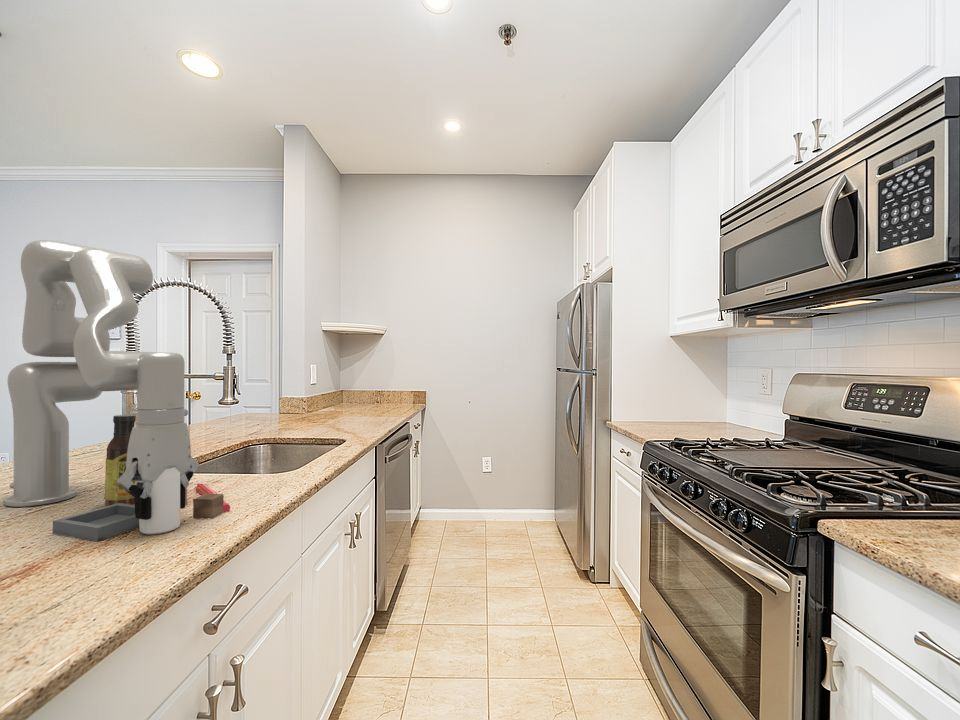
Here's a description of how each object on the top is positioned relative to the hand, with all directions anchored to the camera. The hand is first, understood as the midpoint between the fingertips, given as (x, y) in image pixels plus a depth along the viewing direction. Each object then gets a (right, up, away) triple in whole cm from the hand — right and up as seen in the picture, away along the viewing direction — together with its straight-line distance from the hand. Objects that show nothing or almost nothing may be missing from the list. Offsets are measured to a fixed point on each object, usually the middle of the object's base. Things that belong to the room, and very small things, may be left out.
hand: (161, 512), depth 93 cm
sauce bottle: (-19, -4, +16) cm, 25 cm away
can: (0, -4, 0) cm, 4 cm away
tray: (-11, -3, +2) cm, 12 cm away
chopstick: (-1, -4, +20) cm, 21 cm away
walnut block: (+4, -4, +9) cm, 10 cm away
